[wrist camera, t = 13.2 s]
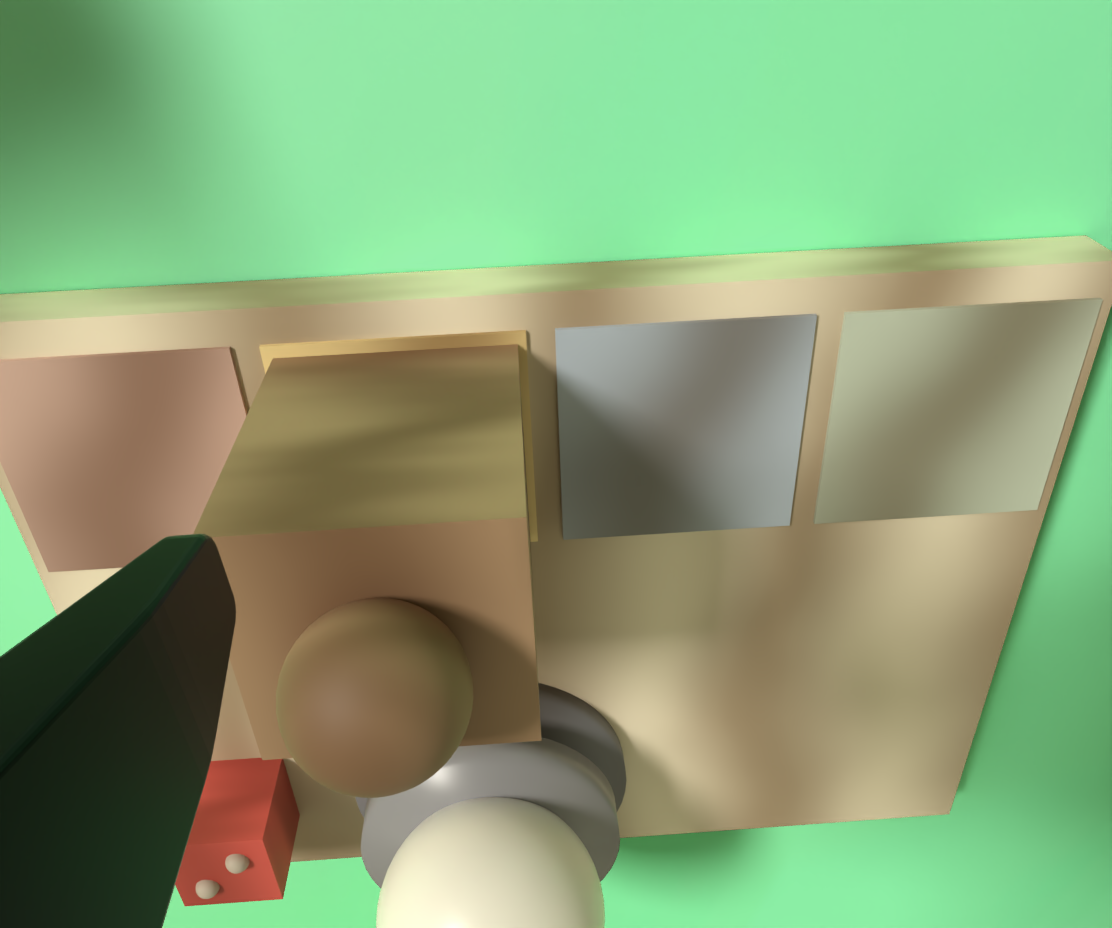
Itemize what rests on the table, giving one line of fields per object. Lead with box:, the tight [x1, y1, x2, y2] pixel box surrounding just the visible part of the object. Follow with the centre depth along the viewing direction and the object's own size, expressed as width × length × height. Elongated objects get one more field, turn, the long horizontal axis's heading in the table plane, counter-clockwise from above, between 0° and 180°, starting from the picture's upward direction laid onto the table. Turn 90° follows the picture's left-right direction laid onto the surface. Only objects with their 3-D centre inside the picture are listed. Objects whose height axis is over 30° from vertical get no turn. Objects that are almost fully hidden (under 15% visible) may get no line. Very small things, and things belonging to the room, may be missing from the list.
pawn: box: [193, 344, 542, 798], centre depth 16 cm, size 5×5×8 cm
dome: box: [361, 737, 620, 928], centre depth 23 cm, size 7×7×6 cm
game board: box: [0, 235, 1112, 906], centre depth 23 cm, size 24×18×4 cm
